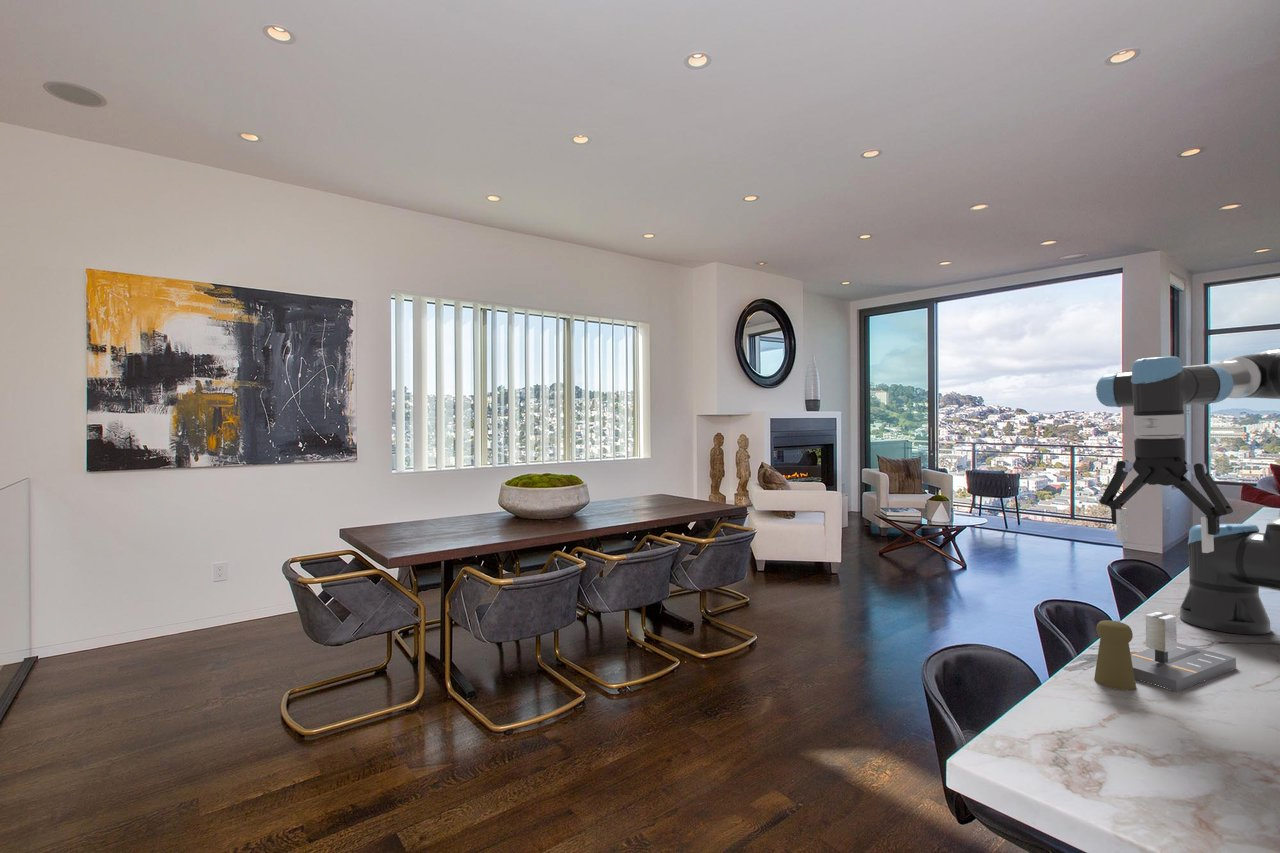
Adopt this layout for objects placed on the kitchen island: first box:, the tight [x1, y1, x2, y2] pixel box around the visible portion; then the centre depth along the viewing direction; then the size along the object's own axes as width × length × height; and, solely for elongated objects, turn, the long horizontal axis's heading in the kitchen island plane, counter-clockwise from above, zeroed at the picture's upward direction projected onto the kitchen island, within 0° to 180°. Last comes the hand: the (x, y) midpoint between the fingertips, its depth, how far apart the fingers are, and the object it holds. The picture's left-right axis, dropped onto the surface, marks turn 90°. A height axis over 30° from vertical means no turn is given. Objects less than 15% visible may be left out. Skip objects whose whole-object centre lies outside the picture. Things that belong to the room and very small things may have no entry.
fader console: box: [1130, 642, 1237, 693], centre depth 116 cm, size 22×10×2 cm, turn 116°
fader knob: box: [1145, 611, 1178, 664], centre depth 114 cm, size 4×3×9 cm
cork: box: [1093, 619, 1137, 691], centre depth 111 cm, size 6×6×11 cm
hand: (1163, 546), depth 120 cm, fingers open, 13 cm apart
